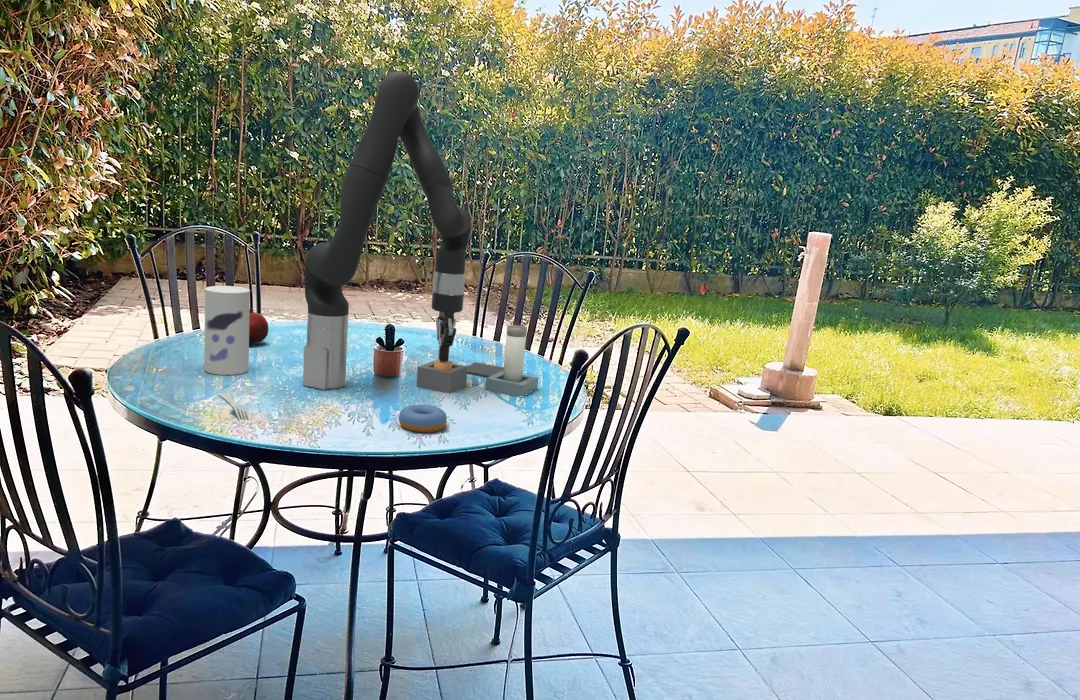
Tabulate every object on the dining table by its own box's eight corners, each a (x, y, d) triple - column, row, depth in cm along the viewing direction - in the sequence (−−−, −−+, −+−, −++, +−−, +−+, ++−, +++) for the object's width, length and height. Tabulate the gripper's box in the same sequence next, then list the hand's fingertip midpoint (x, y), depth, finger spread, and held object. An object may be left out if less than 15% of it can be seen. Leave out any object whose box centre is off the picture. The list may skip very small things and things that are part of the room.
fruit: (224, 347, 225) (224, 310, 223) (229, 339, 234) (230, 304, 232) (266, 349, 227) (266, 312, 225) (269, 341, 236) (270, 306, 234)
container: (205, 375, 196) (206, 291, 192) (203, 365, 205) (203, 284, 201) (250, 375, 200) (251, 292, 196) (246, 364, 209) (247, 285, 205)
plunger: (445, 387, 204) (446, 364, 202) (429, 384, 205) (430, 361, 204) (453, 384, 208) (455, 361, 206) (438, 381, 209) (439, 358, 208)
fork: (229, 404, 185) (229, 392, 185) (252, 422, 168) (252, 408, 168) (216, 405, 184) (216, 393, 184) (238, 423, 166) (237, 409, 166)
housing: (522, 397, 203) (523, 385, 203) (484, 390, 207) (485, 378, 206) (537, 388, 212) (538, 377, 212) (501, 381, 216) (502, 370, 215)
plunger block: (449, 393, 201) (450, 373, 200) (416, 386, 204) (417, 366, 203) (466, 385, 209) (467, 366, 208) (434, 379, 212) (435, 360, 211)
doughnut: (387, 426, 172) (391, 405, 171) (413, 417, 181) (417, 397, 180) (428, 440, 168) (432, 419, 167) (453, 431, 177) (457, 410, 176)
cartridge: (516, 393, 207) (522, 329, 203) (498, 389, 208) (504, 326, 205) (524, 389, 211) (530, 327, 208) (506, 385, 213) (511, 324, 209)
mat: (495, 379, 218) (495, 376, 218) (457, 371, 222) (457, 369, 222) (512, 371, 228) (512, 369, 228) (475, 364, 232) (475, 362, 232)
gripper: (427, 285, 206) (423, 354, 210) (438, 294, 194) (433, 367, 198) (457, 287, 209) (452, 354, 212) (469, 296, 196) (464, 367, 200)
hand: (443, 360), depth 205 cm, fingers closed
